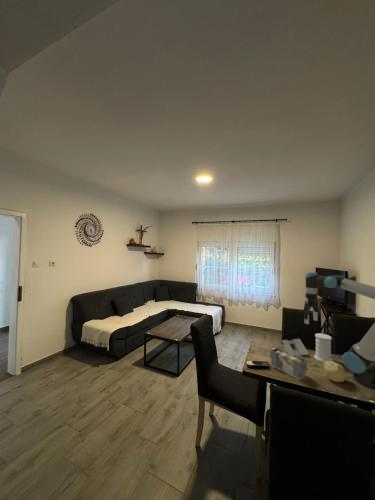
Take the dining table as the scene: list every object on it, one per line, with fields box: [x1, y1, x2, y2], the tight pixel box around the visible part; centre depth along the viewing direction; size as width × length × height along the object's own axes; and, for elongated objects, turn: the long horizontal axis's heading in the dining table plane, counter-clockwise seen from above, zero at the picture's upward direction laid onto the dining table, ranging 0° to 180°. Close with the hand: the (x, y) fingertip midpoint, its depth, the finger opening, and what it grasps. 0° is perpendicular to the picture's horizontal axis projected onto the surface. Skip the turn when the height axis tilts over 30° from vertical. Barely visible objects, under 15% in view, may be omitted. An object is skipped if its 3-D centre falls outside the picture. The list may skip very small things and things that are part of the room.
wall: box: [281, 338, 310, 357], centre depth 175 cm, size 16×9×15 cm
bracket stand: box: [269, 347, 308, 381], centre depth 146 cm, size 22×9×11 cm, turn 35°
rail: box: [276, 350, 302, 367], centre depth 146 cm, size 17×4×4 cm, turn 36°
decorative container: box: [314, 332, 333, 363], centre depth 163 cm, size 12×12×18 cm
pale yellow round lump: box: [322, 360, 347, 383], centre depth 137 cm, size 12×12×11 cm
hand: (311, 322), depth 154 cm, fingers open, 13 cm apart
